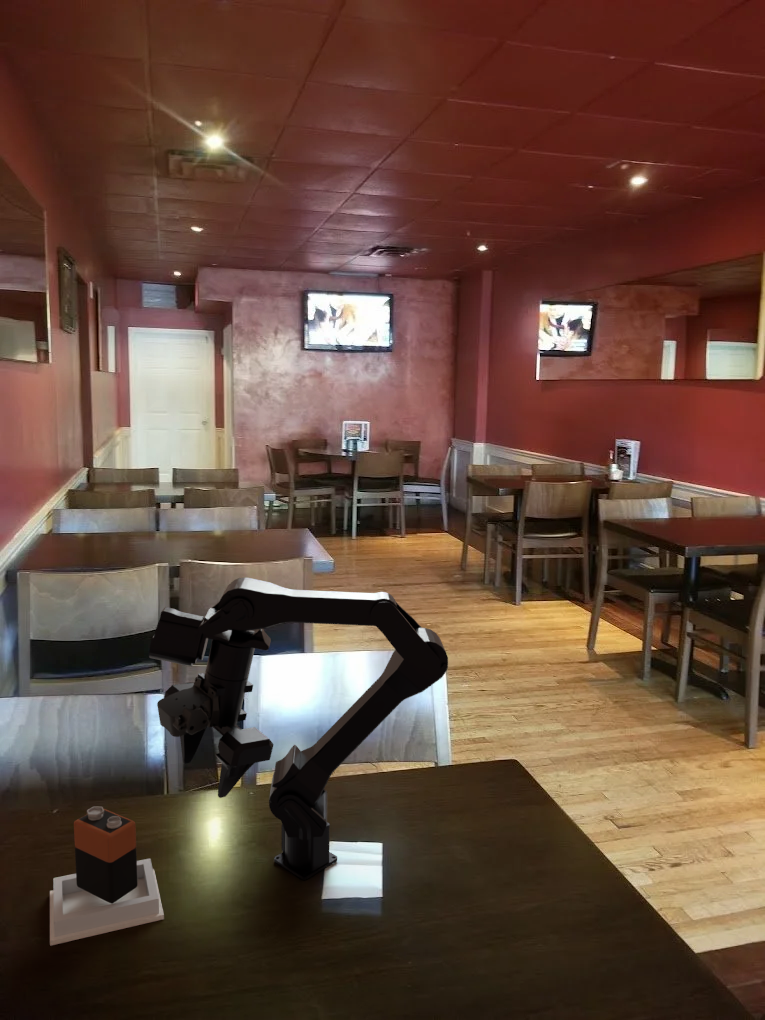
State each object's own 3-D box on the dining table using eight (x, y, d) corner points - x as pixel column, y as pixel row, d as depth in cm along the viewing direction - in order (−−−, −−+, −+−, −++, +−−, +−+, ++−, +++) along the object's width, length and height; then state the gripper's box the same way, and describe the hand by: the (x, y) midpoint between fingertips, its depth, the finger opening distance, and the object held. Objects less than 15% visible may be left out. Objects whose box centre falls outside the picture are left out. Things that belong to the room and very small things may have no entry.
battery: (103, 870, 103) (100, 798, 101) (139, 887, 100) (137, 814, 98) (74, 887, 99) (71, 814, 98) (111, 906, 96) (108, 830, 94)
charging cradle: (154, 873, 107) (153, 855, 106) (163, 919, 98) (163, 899, 97) (50, 895, 102) (49, 876, 101) (50, 945, 93) (49, 925, 92)
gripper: (139, 648, 106) (117, 755, 108) (212, 709, 93) (186, 829, 95) (210, 644, 114) (188, 744, 116) (286, 700, 101) (261, 811, 103)
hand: (203, 779), depth 107 cm, fingers open, 9 cm apart
